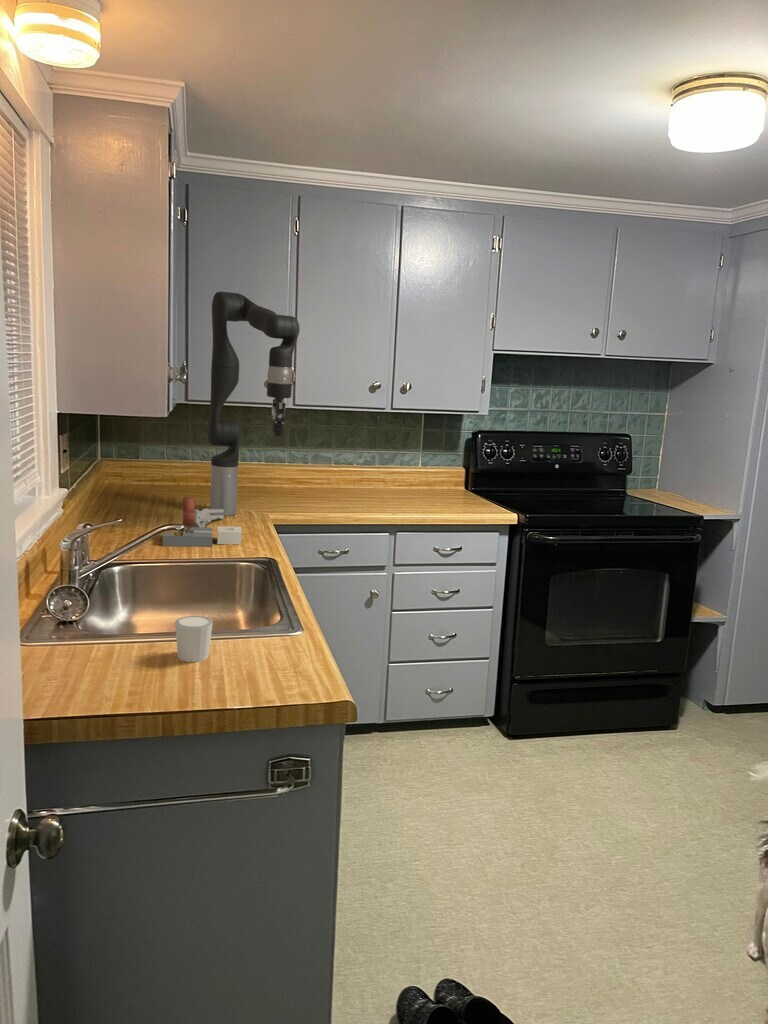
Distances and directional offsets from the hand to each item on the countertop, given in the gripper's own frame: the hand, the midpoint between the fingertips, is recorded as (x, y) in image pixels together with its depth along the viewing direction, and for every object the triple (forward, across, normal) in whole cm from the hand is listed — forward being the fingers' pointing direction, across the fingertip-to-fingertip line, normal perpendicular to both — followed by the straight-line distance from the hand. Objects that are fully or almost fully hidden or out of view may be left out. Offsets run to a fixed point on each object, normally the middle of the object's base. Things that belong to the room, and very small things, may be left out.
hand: (277, 434), depth 240 cm
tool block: (+32, +11, -14) cm, 37 cm away
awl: (+32, +11, -26) cm, 43 cm away
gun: (+32, -8, -20) cm, 39 cm away
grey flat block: (+32, +11, -26) cm, 43 cm away
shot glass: (+32, +100, -23) cm, 108 cm away
